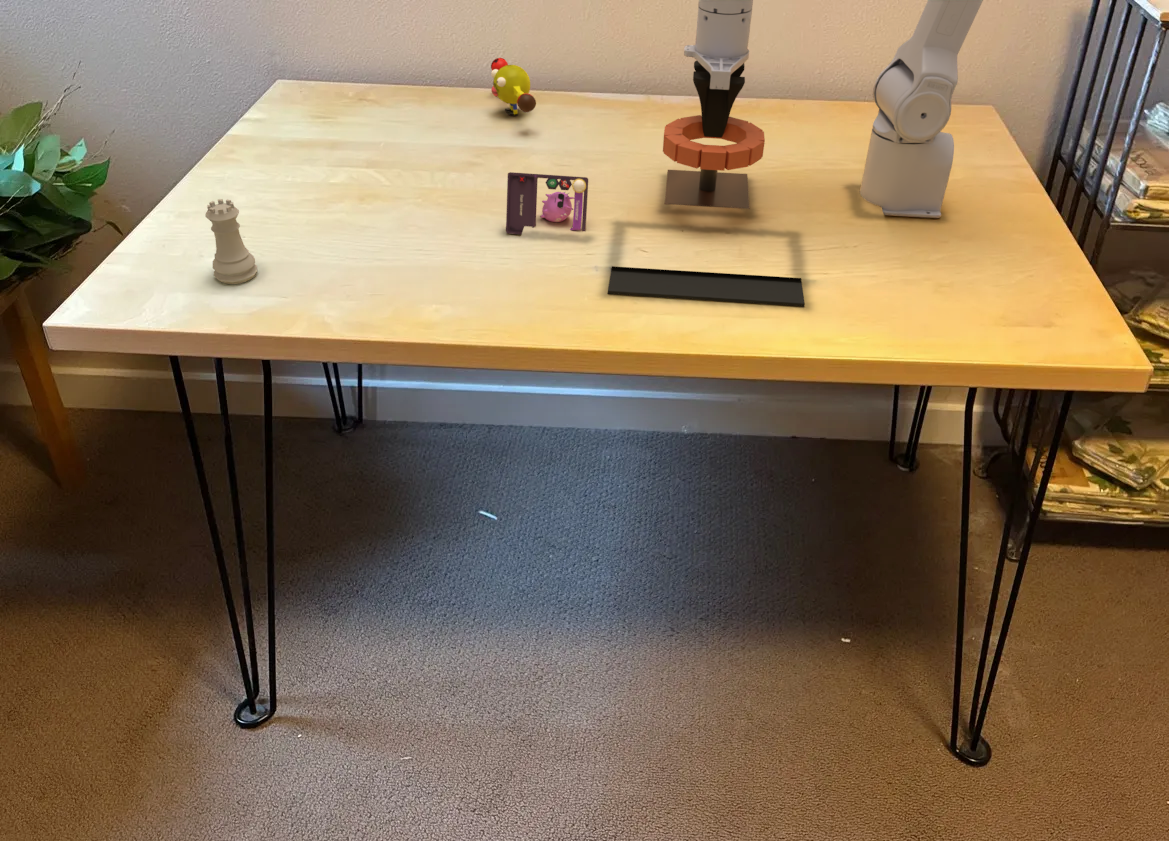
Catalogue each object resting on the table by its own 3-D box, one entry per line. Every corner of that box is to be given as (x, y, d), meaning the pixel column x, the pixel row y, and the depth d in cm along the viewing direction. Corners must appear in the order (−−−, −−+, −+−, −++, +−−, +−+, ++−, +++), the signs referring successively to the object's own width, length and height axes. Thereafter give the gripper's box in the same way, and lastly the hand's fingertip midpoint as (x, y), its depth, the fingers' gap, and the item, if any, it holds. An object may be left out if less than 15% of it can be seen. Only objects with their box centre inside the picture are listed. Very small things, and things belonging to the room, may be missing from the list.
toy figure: (479, 94, 146) (476, 47, 142) (515, 90, 148) (513, 44, 143) (508, 138, 133) (506, 89, 129) (547, 134, 134) (546, 85, 130)
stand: (746, 181, 123) (751, 142, 120) (748, 216, 115) (753, 176, 112) (667, 176, 123) (669, 138, 120) (663, 211, 116) (666, 171, 113)
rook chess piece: (241, 260, 105) (226, 191, 100) (267, 273, 103) (252, 203, 98) (205, 276, 102) (187, 205, 97) (231, 290, 100) (213, 218, 95)
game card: (506, 172, 108) (587, 178, 107) (515, 169, 112) (592, 175, 112) (504, 234, 110) (583, 240, 109) (513, 228, 115) (589, 234, 114)
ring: (760, 134, 113) (762, 117, 112) (763, 173, 104) (766, 155, 103) (665, 129, 114) (666, 112, 112) (660, 167, 105) (662, 149, 104)
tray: (793, 234, 111) (794, 231, 111) (804, 306, 99) (804, 303, 98) (619, 224, 113) (619, 221, 113) (607, 294, 100) (607, 290, 100)
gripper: (689, -13, 110) (680, 107, 118) (685, 25, 98) (676, 154, 107) (752, -10, 109) (739, 110, 118) (756, 28, 98) (740, 157, 106)
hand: (713, 131), depth 112 cm, fingers closed on ring, 2 cm apart
